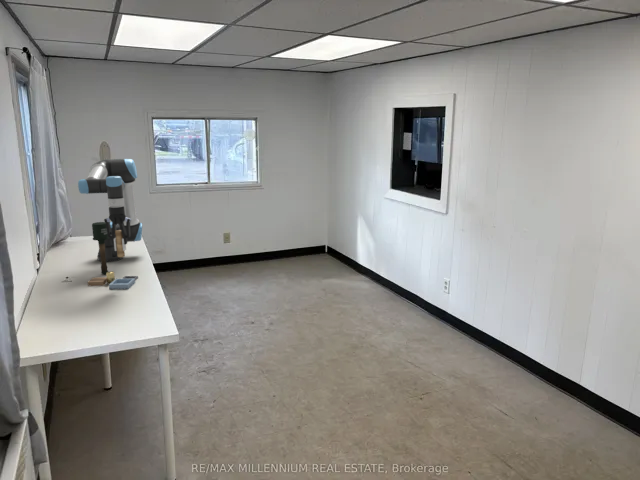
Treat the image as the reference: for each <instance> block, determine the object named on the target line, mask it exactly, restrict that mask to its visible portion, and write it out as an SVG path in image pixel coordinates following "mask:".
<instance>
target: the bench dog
mask: <svg viewBox="0 0 640 480" xmlns="http://www.w3.org/2000/svg"><path fill="white" fill-rule="evenodd" d="M105 277H107V283H106V284H107V285H109V284H110V283H111V282H113V281H114V280H115V279H116V276H115V271H111V270H110V271H108V272H106V276H105Z"/></svg>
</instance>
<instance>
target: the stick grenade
mask: <svg viewBox="0 0 640 480" xmlns="http://www.w3.org/2000/svg"><path fill="white" fill-rule="evenodd" d="M91 229H92V240H93V241H97V243H98V251H99V250H100V257H101V261H100V268H101V269H100V273H101V275H102V276H105V275H106V272H109V269H108V265H107V262H106V256H105V240H106V239H109V237H108V234H107V228H106V223H105V221H99V222H93V223H92V224H91Z"/></svg>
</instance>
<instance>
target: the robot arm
mask: <svg viewBox="0 0 640 480" xmlns="http://www.w3.org/2000/svg"><path fill="white" fill-rule="evenodd" d="M137 178H138V171H137V167H136V163H135V161H134V159H132V158H112V159H109V158H107V159H102V160H99V161H97V162H96V163H95V162H94V164H92V165H91V166H90V169H89V174H88V176H87V177H86V178H83V179H79V180H78V182H77V185H78V186H77V187H78V192H79V193H80V194H83V195H85V194H86V195H88V194H89V195H90V194H91V195H92V194H107V204H108V213H109V216H108V217H106V218H104V220H103V222H105V223H106V228H107V234H108V237H109V239H106V240H105V256H106V263H107V262H115V261H120V260H122V259H123V258H124V257H118V256H117V245H116V235H115V231H116V230H121V231H122V235H123V238H122V245H123V251H124V252H125V251H127V245H128V243H129V242H133V243H135V242H140V241H141V240H142V239H143V238H142V237H143V223H142V222H141V221H140V219H138V216H137V209H136V199H135V189H134V183H135V182H136V179H137ZM96 257H97V258H96V259H97V261H99V262H101V257H100V250H99V249H98V252H97V256H96Z"/></svg>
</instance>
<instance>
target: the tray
mask: <svg viewBox="0 0 640 480" xmlns="http://www.w3.org/2000/svg"><path fill="white" fill-rule="evenodd" d="M135 284H136V280H135V279H134V278H131V279H122V278H115V280H114V281H113V282H111V283H110V284H108V289H109V290H129V289H131V288H132V286H134V285H135Z"/></svg>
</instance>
